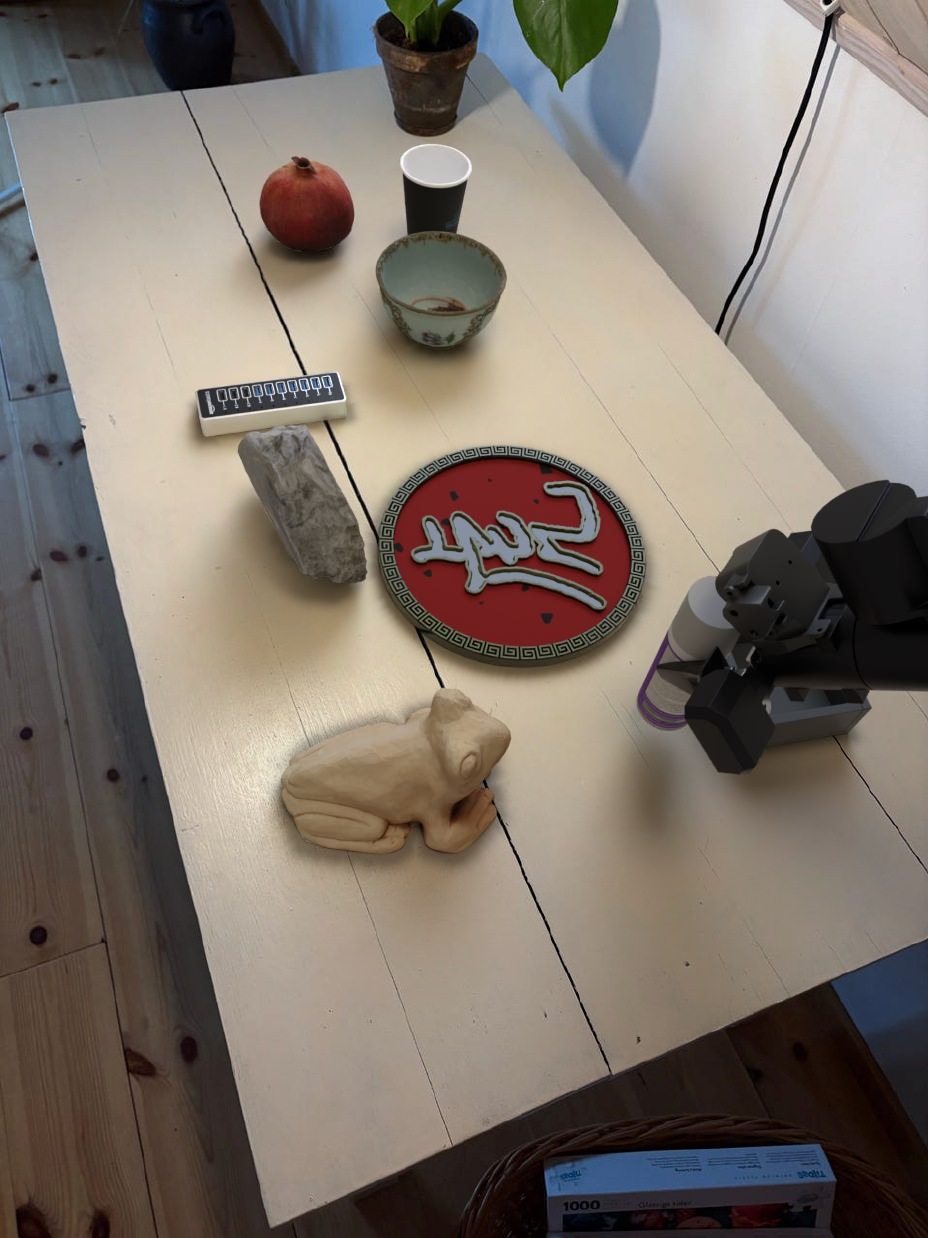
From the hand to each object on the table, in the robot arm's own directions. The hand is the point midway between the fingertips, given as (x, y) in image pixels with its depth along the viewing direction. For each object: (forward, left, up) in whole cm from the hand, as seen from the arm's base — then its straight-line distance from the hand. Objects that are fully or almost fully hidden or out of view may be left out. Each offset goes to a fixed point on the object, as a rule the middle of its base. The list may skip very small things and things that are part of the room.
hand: (673, 648), depth 71 cm
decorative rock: (+26, -23, -11) cm, 36 cm away
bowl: (+8, -50, -11) cm, 51 cm away
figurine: (+22, +2, -11) cm, 25 cm away
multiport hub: (+27, -40, -11) cm, 49 cm away
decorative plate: (+7, -19, -11) cm, 23 cm away
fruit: (+20, -67, -11) cm, 70 cm away
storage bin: (-12, -1, -11) cm, 17 cm away
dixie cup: (+6, -64, -11) cm, 65 cm away
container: (-1, +1, -8) cm, 8 cm away
